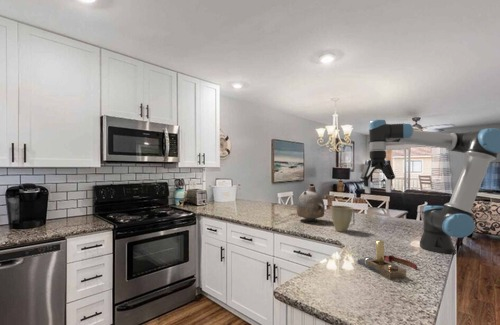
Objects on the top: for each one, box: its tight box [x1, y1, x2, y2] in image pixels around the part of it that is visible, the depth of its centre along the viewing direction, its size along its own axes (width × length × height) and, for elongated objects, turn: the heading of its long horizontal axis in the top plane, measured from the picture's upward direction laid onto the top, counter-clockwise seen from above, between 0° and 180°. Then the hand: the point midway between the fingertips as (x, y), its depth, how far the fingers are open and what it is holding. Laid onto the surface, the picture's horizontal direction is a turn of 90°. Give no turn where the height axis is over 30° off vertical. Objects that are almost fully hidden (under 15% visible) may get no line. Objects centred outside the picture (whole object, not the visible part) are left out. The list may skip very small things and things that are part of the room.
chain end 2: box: [366, 258, 407, 281], centre depth 106 cm, size 8×13×4 cm, turn 17°
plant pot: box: [330, 205, 354, 233], centre depth 176 cm, size 15×15×16 cm
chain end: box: [357, 256, 380, 275], centre depth 111 cm, size 8×13×2 cm, turn 17°
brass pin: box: [375, 239, 385, 265], centre depth 109 cm, size 3×3×12 cm
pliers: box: [384, 252, 418, 271], centre depth 119 cm, size 12×20×3 cm, turn 5°
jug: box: [296, 182, 325, 222], centre depth 205 cm, size 24×21×30 cm
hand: (378, 192), depth 131 cm, fingers open, 13 cm apart
